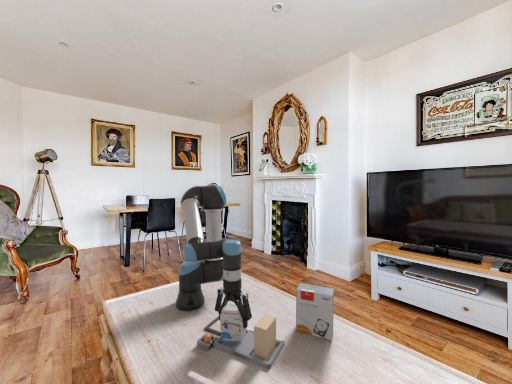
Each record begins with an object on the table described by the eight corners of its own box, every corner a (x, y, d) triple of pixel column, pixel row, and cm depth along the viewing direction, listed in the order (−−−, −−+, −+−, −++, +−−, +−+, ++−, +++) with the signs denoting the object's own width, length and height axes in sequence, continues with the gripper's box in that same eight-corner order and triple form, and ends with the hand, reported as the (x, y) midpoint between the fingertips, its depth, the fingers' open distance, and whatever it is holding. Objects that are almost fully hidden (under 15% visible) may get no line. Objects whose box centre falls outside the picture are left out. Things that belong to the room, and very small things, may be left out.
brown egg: (202, 345, 98) (202, 336, 97) (207, 340, 100) (206, 332, 100) (208, 347, 96) (208, 339, 96) (212, 343, 99) (212, 334, 99)
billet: (254, 357, 90) (254, 326, 89) (264, 343, 98) (264, 314, 97) (266, 361, 87) (266, 329, 87) (276, 346, 95) (276, 317, 95)
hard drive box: (295, 333, 105) (295, 289, 104) (298, 324, 112) (298, 282, 111) (332, 342, 99) (332, 295, 98) (333, 331, 106) (334, 287, 105)
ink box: (221, 338, 97) (220, 310, 97) (224, 331, 102) (223, 304, 102) (242, 339, 96) (241, 311, 96) (244, 332, 101) (243, 304, 101)
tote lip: (204, 329, 109) (204, 327, 109) (224, 312, 123) (224, 310, 123) (226, 337, 103) (226, 335, 103) (245, 318, 117) (245, 316, 117)
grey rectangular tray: (212, 349, 96) (212, 343, 96) (232, 329, 108) (232, 324, 108) (269, 371, 84) (269, 365, 84) (284, 347, 96) (284, 341, 96)
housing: (197, 347, 97) (196, 341, 97) (206, 338, 102) (206, 332, 102) (208, 351, 94) (208, 345, 94) (217, 342, 99) (217, 336, 99)
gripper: (205, 276, 100) (206, 329, 101) (251, 286, 90) (252, 345, 91) (216, 270, 107) (217, 320, 108) (260, 279, 97) (260, 334, 97)
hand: (233, 331), depth 99 cm, fingers closed on ink box, 9 cm apart
